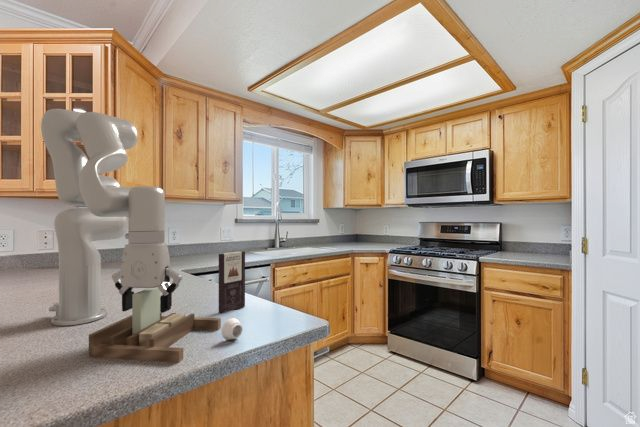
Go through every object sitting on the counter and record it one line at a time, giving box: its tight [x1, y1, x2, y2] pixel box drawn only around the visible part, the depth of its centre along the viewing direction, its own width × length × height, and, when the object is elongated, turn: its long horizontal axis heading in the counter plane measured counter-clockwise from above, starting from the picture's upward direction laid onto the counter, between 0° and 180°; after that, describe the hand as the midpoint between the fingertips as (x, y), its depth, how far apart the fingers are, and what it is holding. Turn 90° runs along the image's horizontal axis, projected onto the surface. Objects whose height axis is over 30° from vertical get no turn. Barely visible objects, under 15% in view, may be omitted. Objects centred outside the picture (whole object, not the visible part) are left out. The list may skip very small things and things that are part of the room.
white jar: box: [221, 317, 243, 341], centre depth 73 cm, size 5×3×5 cm, turn 142°
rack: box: [88, 312, 222, 363], centre depth 72 cm, size 20×20×5 cm
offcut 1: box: [139, 324, 169, 346], centre depth 69 cm, size 3×6×4 cm, turn 174°
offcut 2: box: [160, 313, 186, 327], centre depth 76 cm, size 3×6×4 cm, turn 174°
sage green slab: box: [131, 287, 161, 335], centre depth 73 cm, size 2×7×12 cm, turn 174°
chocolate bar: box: [218, 250, 246, 314], centre depth 96 cm, size 9×1×18 cm, turn 140°
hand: (146, 310), depth 73 cm, fingers open, 9 cm apart
